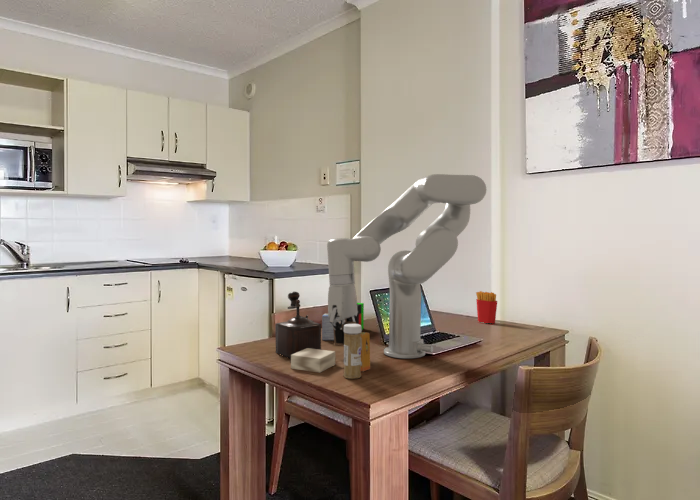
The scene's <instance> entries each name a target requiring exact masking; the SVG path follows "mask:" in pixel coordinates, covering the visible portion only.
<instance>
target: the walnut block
mask: <svg viewBox="0 0 700 500" xmlns="http://www.w3.org/2000/svg"><path fill="white" fill-rule="evenodd" d="M339 323H340V324H341V321H340V322H339ZM345 324H356V322H352V321H344V325H345ZM333 330H334V327H333ZM333 342H334V343H333V345H338V346H339V345H340V346H344V344H343V343H336V339H335V330H334V340H333Z"/></svg>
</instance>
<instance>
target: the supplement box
mask: <svg viewBox="0 0 700 500" xmlns="http://www.w3.org/2000/svg"><path fill="white" fill-rule="evenodd" d="M370 337H371V336H370V333H369V332H365V331H361V365H360V366H361V368H360V369H361V370H360V371H361V372H363V373H364V372H366V371H368V370H371V344H370V343H371V342H370V341H371V340H370Z"/></svg>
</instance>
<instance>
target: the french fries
mask: <svg viewBox="0 0 700 500" xmlns="http://www.w3.org/2000/svg"><path fill="white" fill-rule="evenodd" d="M475 294H476V313H477V322H478V321H479V322H484V323H495V324H496V317H497V307H498V300H497V294H496V293H494V292H492V291H491V292H487V291H485V292H484V291H482V290H479V291H477V292H475ZM479 322H478V323H479Z"/></svg>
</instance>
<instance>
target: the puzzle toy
mask: <svg viewBox="0 0 700 500" xmlns="http://www.w3.org/2000/svg"><path fill="white" fill-rule="evenodd" d="M364 303H365V302H357V311H358V313H357V316H356V320H355V322H356V324H360V325H361V328H362V330H364V322H365V320H364V318H365V317H364V313H365V309H364V307H365V306H364V305H365V304H364ZM348 319H349V318H348Z"/></svg>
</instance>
